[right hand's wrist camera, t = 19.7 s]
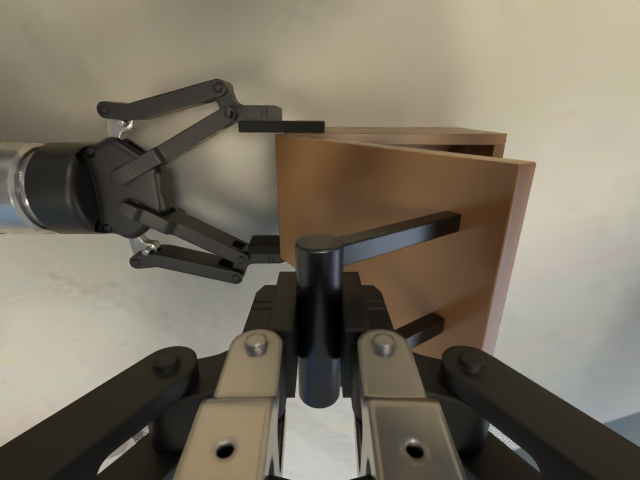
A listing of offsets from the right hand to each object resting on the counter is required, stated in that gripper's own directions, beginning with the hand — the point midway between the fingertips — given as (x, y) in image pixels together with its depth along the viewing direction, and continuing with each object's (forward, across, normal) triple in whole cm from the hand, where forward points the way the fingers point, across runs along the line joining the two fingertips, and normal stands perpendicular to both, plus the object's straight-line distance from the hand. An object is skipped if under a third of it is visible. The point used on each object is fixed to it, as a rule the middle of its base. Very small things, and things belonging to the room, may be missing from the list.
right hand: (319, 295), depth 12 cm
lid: (+8, +2, 0) cm, 8 cm away
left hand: (+18, 0, 0) cm, 18 cm away
